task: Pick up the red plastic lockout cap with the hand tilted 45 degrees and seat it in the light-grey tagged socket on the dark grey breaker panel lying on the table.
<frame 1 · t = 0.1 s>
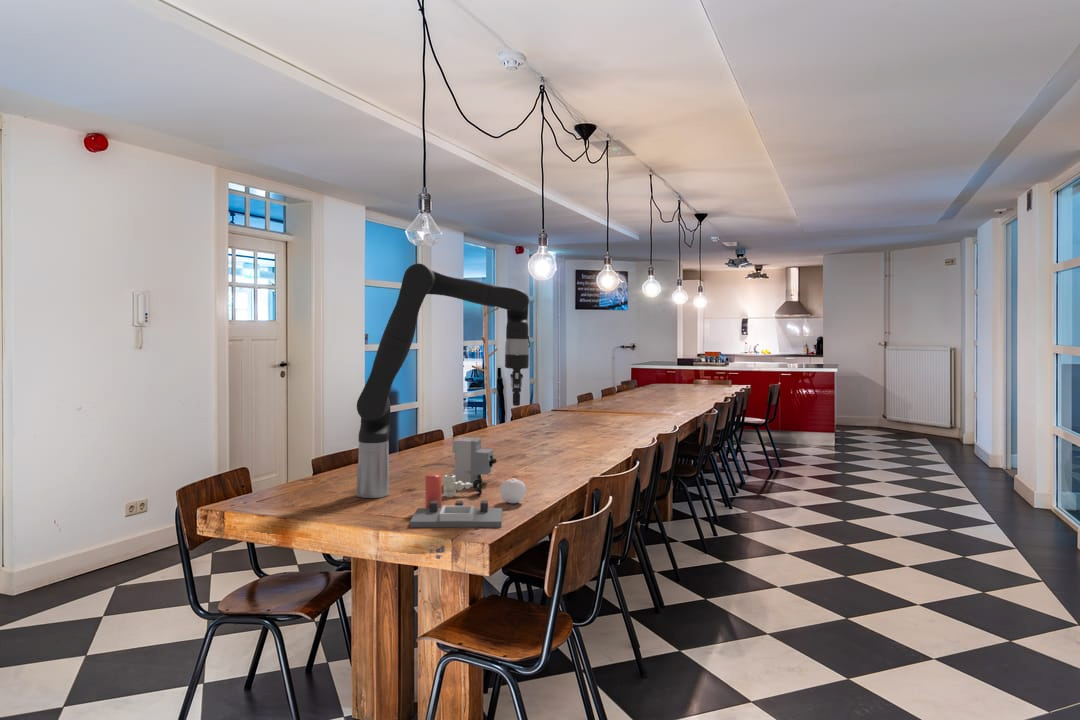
hand: (516, 404, 211), 29 cm above the table, tool pointing down, fingers open, 8 cm apart
lockout cap: (433, 509, 193), on the table
white folded ball: (512, 503, 202), on the table
valve: (462, 496, 211), on the table
circuit breaker: (475, 483, 230), on the table
breaker panel: (457, 520, 182), on the table
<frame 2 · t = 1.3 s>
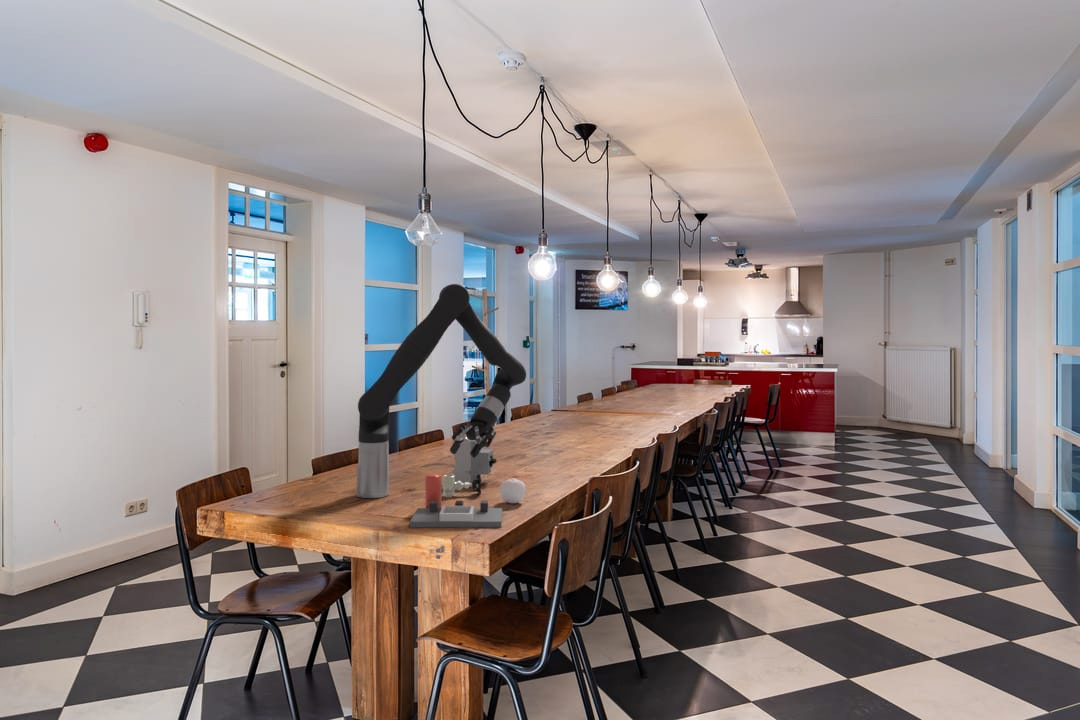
hand: (462, 454, 201), 15 cm above the table, tool tilted 45°, fingers open, 8 cm apart
nothing on the table moved.
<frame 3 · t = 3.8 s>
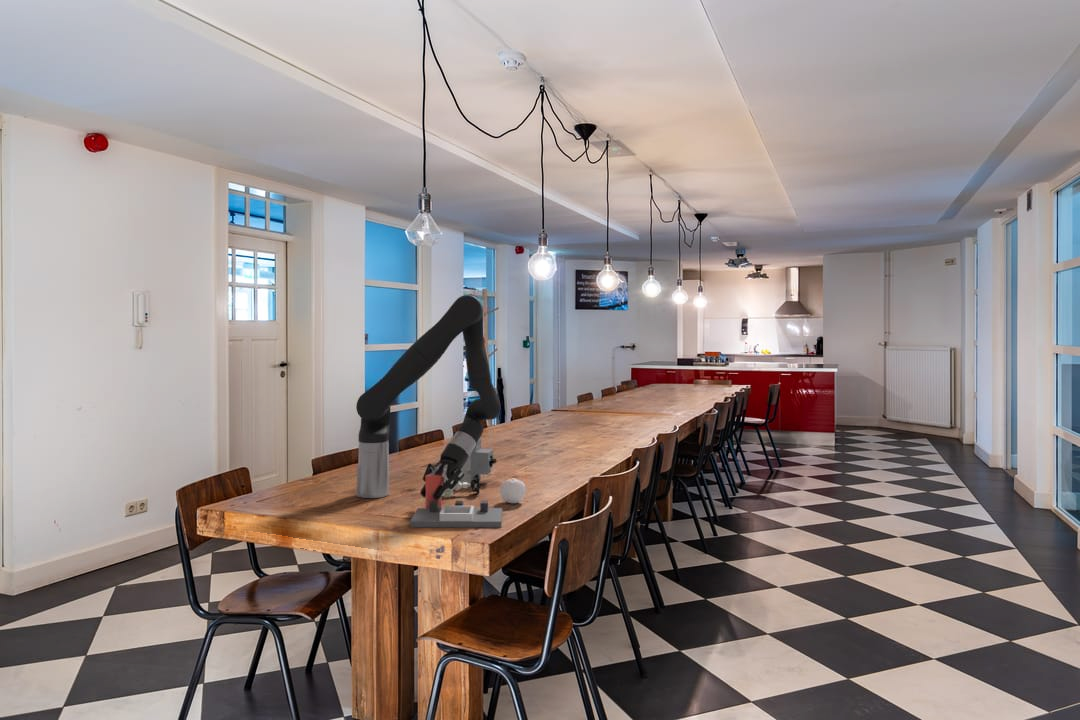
hand: (428, 496, 191), 4 cm above the table, tool tilted 45°, fingers closed on lockout cap, 4 cm apart
lockout cap: (433, 509, 193), on the table, touching gripper
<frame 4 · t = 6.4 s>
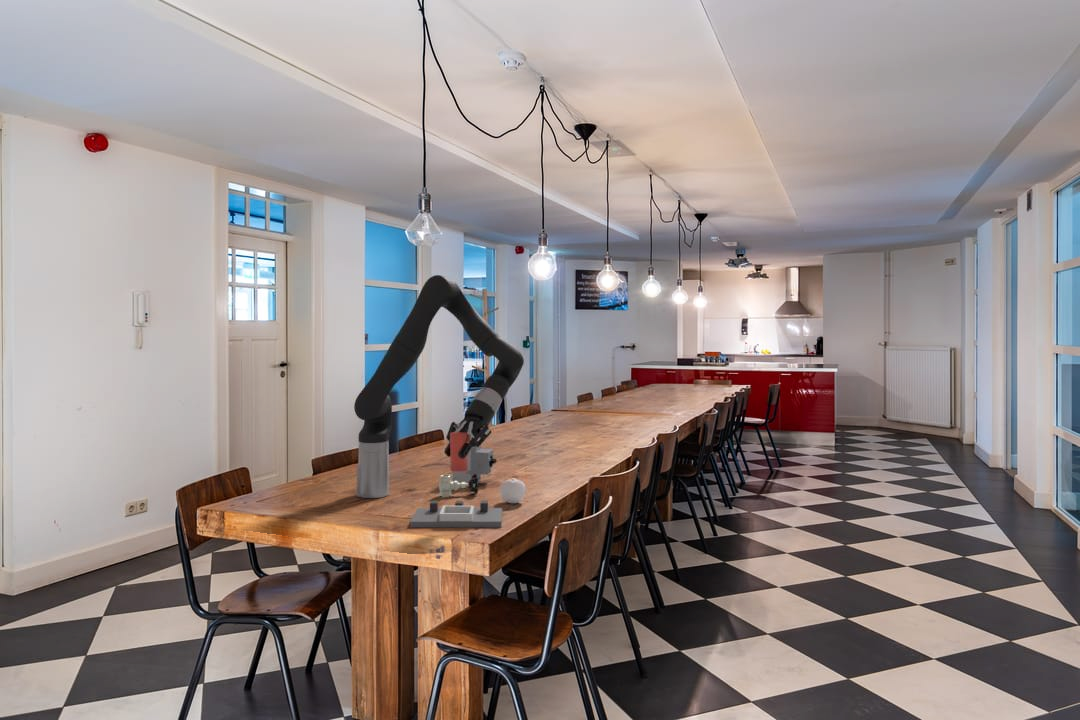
hand: (453, 455, 178), 18 cm above the table, tool tilted 45°, fingers closed on lockout cap, 4 cm apart
lockout cap: (458, 469, 180), point 14 cm above the table, touching gripper
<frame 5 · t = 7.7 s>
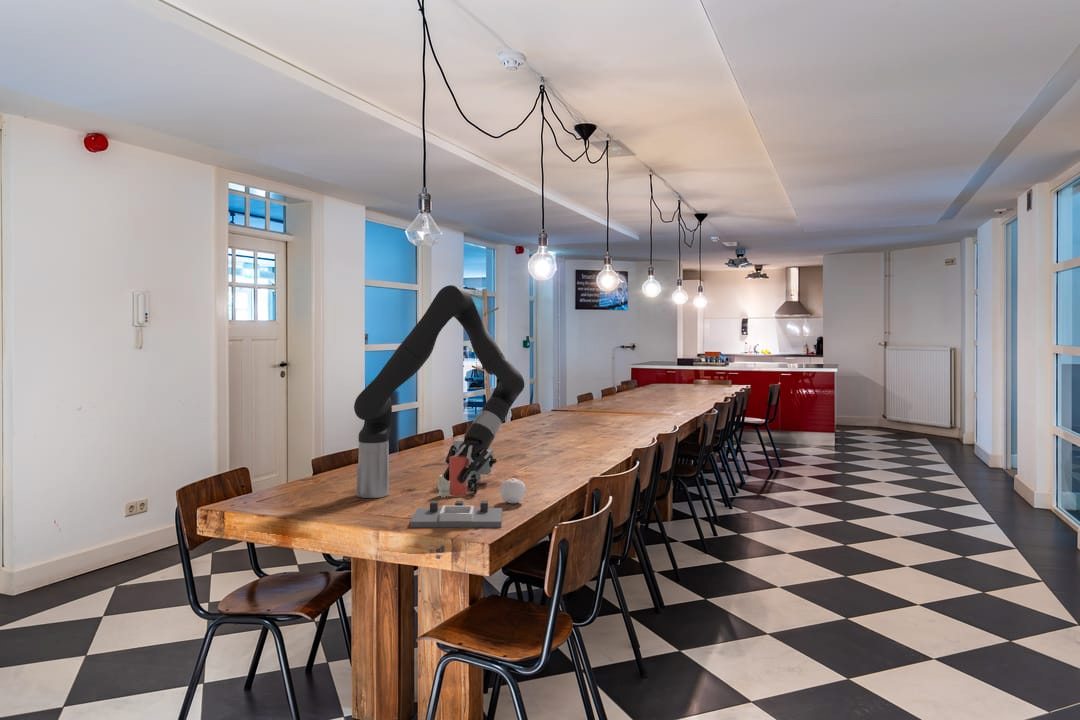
hand: (452, 480, 178), 12 cm above the table, tool tilted 45°, fingers closed on lockout cap, 4 cm apart
lockout cap: (457, 494, 179), point 8 cm above the table, touching gripper
when the fingers open (7 cm above the table, at t = 9.0 s): lockout cap drops 1 cm, resting on breaker panel.
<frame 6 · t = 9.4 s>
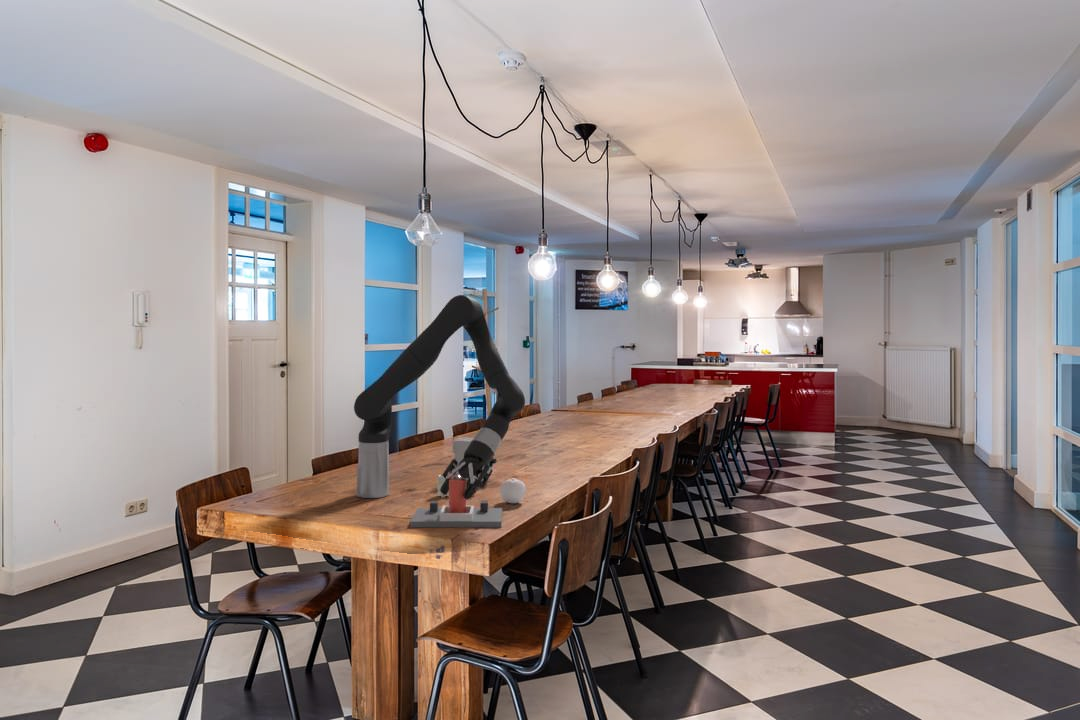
hand: (453, 495, 178), 8 cm above the table, tool tilted 45°, fingers open, 8 cm apart
lockout cap: (457, 516, 180), point 2 cm above the table, touching breaker panel
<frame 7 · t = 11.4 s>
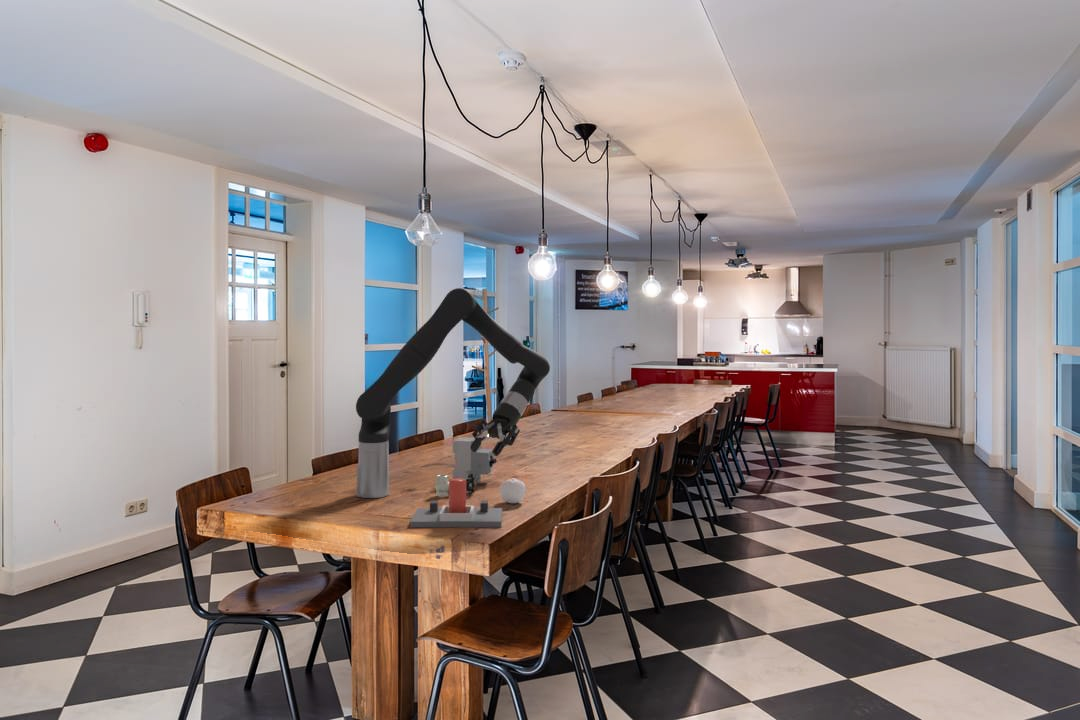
hand: (483, 452, 190), 17 cm above the table, tool tilted 45°, fingers open, 8 cm apart
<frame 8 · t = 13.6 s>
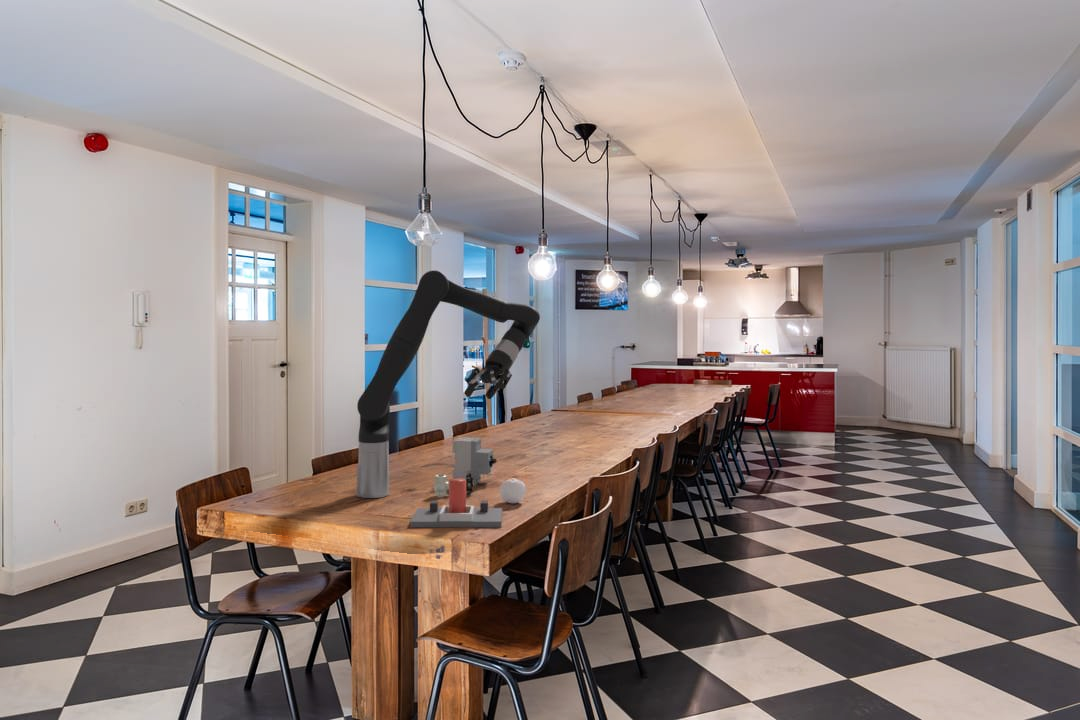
hand: (477, 396, 197), 33 cm above the table, tool tilted 45°, fingers open, 8 cm apart
at the end: lockout cap 0.1 cm from the target spot on the breaker panel, point 1.5 cm above the breaker panel's base; lockout cap tilted 0°; the gripper is holding nothing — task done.
